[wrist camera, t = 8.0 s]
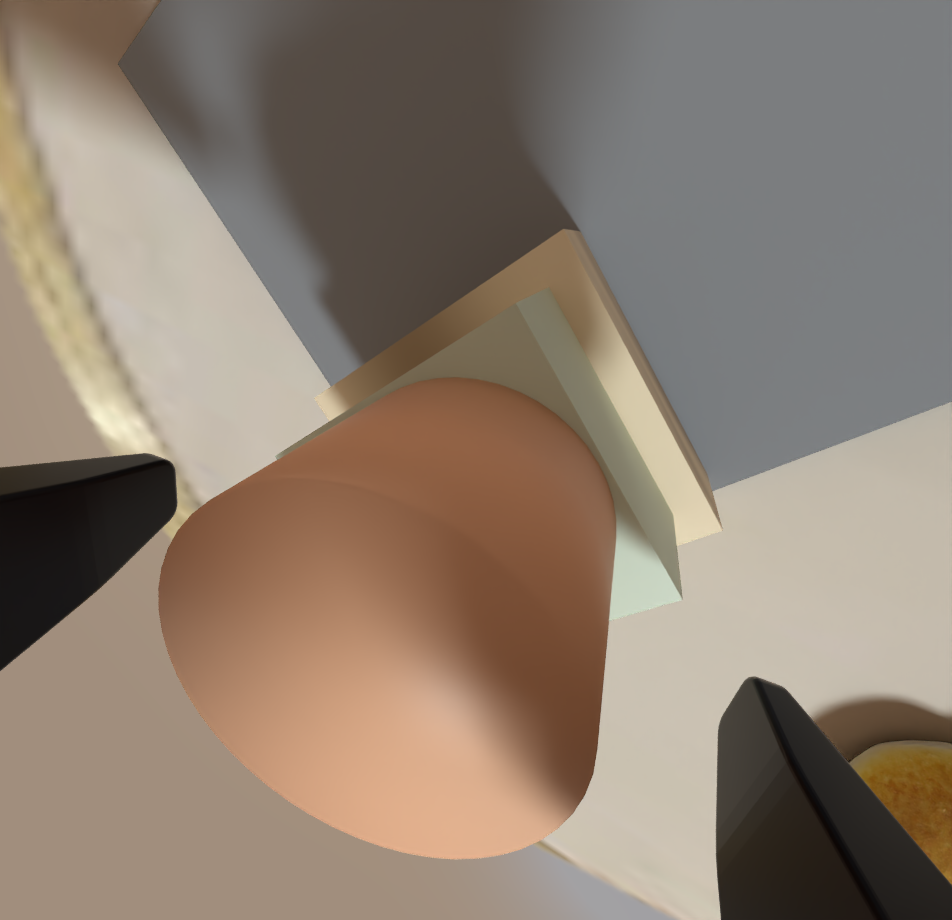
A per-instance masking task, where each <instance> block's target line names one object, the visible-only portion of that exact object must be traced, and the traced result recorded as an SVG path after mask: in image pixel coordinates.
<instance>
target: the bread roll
mask: <svg viewBox="0 0 952 920" xmlns="http://www.w3.org/2000/svg"><path fill="white" fill-rule="evenodd" d="M849 764H850V765H851V766H852V767H853V769H854V770H855V771H856V772H857V773H858V775H859V776H860V777H861V778H862V779H863V780H864V782H865V783H866V784H867V785H868V786H869V788H870V789H871V790H872V791H873V792H874V793H875V795H876V796H877V797H878V798H879V799H880V801H881V802H882V803H883V804H884V805H885V806H886V808H887V809H888V810H889V811H890V812H891V813H892V815H893V816H894V817H895V818H896V819H897V821H898V822H899V823H900V824H901V825H902V826H903V828H904V829H905V830H906V831H907V832H908V834H909V835H910V836H911V837H912V838H913V839H914V841H915V842H916V843H917V844H918V845H919V847H920V848H921V849H922V850H923V851H924V852H925V854H926V855H927V856H928V857H929V858H930V860H931V861H932V862H933V863H934V864H935V865H936V867H937V868H938V869H939V870H940V871H941V873H942V874H943V875H944V876H945V877H946V878H947V880H948V881H949V882H950V883H951V884H952V744H951V743H946V742H939V741H921V740H902V741H893V742H886V743H881V744H877V745H874V746H872V747H871V748H869V749H867V750H866V751H864V752H863V753H861V754H860V755H858V756H856V757H855V758H854V759H853V760H852V761H851V762H849Z"/></svg>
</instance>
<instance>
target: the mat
mask: <svg viewBox="0 0 952 920" xmlns="http://www.w3.org/2000/svg"><path fill="white" fill-rule="evenodd" d="M118 65H119V67H120V68H121V70H122V71H123V73H124V74H125V76H126V77H127V79H128V80H129V82H130V83H131V85H132V86H133V88H134V89H135V91H136V92H137V94H138V95H139V97H140V98H141V100H142V101H143V103H144V104H145V106H146V107H147V109H148V110H149V112H150V113H151V115H152V116H153V118H154V119H155V121H156V122H157V124H158V126H159V127H160V129H161V130H162V132H163V133H164V135H165V136H166V138H167V139H168V141H169V142H170V144H171V145H172V147H173V148H174V150H175V151H176V153H177V154H178V156H179V157H180V159H181V160H182V162H183V163H184V165H185V166H186V168H187V169H188V171H189V172H190V174H191V175H192V177H193V178H194V180H195V181H196V183H197V184H198V186H199V188H200V189H201V191H202V192H203V194H204V195H205V197H206V198H207V200H208V201H209V203H210V204H211V206H212V207H213V209H214V210H215V212H216V213H217V215H218V216H219V218H220V219H221V221H222V222H223V224H224V225H225V227H226V228H227V230H228V231H229V233H230V234H231V236H232V237H233V239H234V240H235V242H236V243H237V245H238V246H239V248H240V250H241V251H242V253H243V254H244V256H245V257H246V259H247V260H248V262H249V263H250V265H251V266H252V268H253V269H254V271H255V272H256V274H257V275H258V277H259V278H260V280H261V281H262V283H263V284H264V286H265V287H266V289H267V290H268V292H269V293H270V295H271V296H272V298H273V299H274V301H275V302H276V304H277V305H278V307H279V308H280V310H281V312H282V313H283V315H284V316H285V318H286V319H287V321H288V322H289V324H290V325H291V327H292V328H293V330H294V331H295V333H296V334H297V336H298V337H299V339H300V340H301V342H302V343H303V345H304V346H305V348H306V349H307V351H308V352H309V354H310V355H311V357H312V358H313V360H314V361H315V363H316V364H317V366H318V367H319V369H320V370H321V372H322V374H323V375H324V377H325V378H326V380H327V381H328V383H329V384H330V386H333V385H334V384H336V383H337V382H339V381H340V380H342V379H343V378H345V377H346V376H347V375H349V374H350V373H352V372H353V371H355V370H356V369H358V368H359V367H361V366H362V365H364V364H365V363H367V362H368V361H370V360H371V359H373V358H374V357H375V356H377V355H378V354H380V353H381V352H383V351H384V350H386V349H387V348H389V347H390V346H392V345H393V344H395V343H396V342H398V341H399V340H400V339H402V338H403V337H405V336H406V335H408V334H409V333H411V332H412V331H414V330H415V329H417V328H418V327H420V326H421V325H423V324H424V323H426V322H427V321H428V320H430V319H431V318H433V317H434V316H436V315H437V314H439V313H440V312H442V311H443V310H445V309H446V308H448V307H449V306H451V305H452V304H453V303H455V302H456V301H458V300H459V299H461V298H462V297H464V296H465V295H467V294H468V293H470V292H471V291H473V290H474V289H476V288H477V287H478V286H480V285H481V284H483V283H484V282H486V281H487V280H489V279H490V278H492V277H493V276H495V275H496V274H498V273H499V272H501V271H502V270H504V269H505V268H506V267H508V266H509V265H511V264H512V263H514V262H515V261H517V260H518V259H520V258H521V257H523V256H524V255H526V254H527V253H529V252H530V251H531V250H533V249H534V248H536V247H537V246H539V245H540V244H542V243H543V242H545V241H546V240H548V239H549V238H551V237H552V236H554V235H555V234H557V233H558V232H559V231H561V230H562V229H568V230H574V231H580V232H581V233H582V235H583V237H584V239H585V241H586V243H587V245H588V247H589V249H590V250H591V252H592V254H593V256H594V258H595V260H596V262H597V264H598V266H599V268H600V270H601V271H602V273H603V275H604V277H605V279H606V281H607V283H608V285H609V287H610V289H611V291H612V293H613V294H614V296H615V298H616V300H617V302H618V304H619V306H620V308H621V310H622V312H623V314H624V316H625V317H626V319H627V321H628V323H629V325H630V327H631V329H632V331H633V333H634V335H635V337H636V338H637V340H638V342H639V344H640V346H641V348H642V350H643V352H644V354H645V356H646V358H647V360H648V361H649V363H650V365H651V367H652V369H653V371H654V373H655V375H656V377H657V379H658V381H659V383H660V384H661V386H662V388H663V390H664V392H665V394H666V396H667V398H668V400H669V402H670V404H671V405H672V407H673V409H674V411H675V413H676V415H677V417H678V419H679V421H680V423H681V425H682V427H683V428H684V430H685V432H686V434H687V436H688V438H689V440H690V442H691V444H692V446H693V448H694V450H695V451H696V453H697V455H698V457H699V459H700V461H701V463H702V465H703V467H704V469H705V471H706V472H707V474H708V478H709V482H710V485H711V489H712V491H714V490H717V489H719V488H722V487H725V486H727V485H730V484H733V483H735V482H738V481H741V480H743V479H746V478H749V477H751V476H754V475H757V474H759V473H762V472H765V471H767V470H770V469H773V468H775V467H778V466H781V465H783V464H786V463H789V462H791V461H794V460H797V459H799V458H802V457H805V456H807V455H810V454H813V453H815V452H818V451H821V450H824V449H826V448H829V447H832V446H834V445H837V444H840V443H842V442H845V441H848V440H850V439H853V438H856V437H858V436H861V435H864V434H866V433H869V432H872V431H874V430H877V429H880V428H882V427H885V426H888V425H890V424H893V423H896V422H898V421H901V420H904V419H906V418H909V417H912V416H914V415H917V414H920V413H922V412H925V411H928V410H930V409H933V408H936V407H938V406H941V405H944V404H946V403H949V402H952V0H161V1H160V3H159V4H158V6H157V7H156V9H155V10H154V12H153V13H152V14H151V16H150V17H149V19H148V20H147V22H146V23H145V25H144V26H143V28H142V29H141V31H140V32H139V33H138V35H137V36H136V38H135V39H134V41H133V42H132V44H131V45H130V47H129V48H128V50H127V51H126V52H125V54H124V55H123V57H122V58H121V60H120V61H119V63H118Z"/></svg>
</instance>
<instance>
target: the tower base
mask: <svg viewBox="0 0 952 920" xmlns="http://www.w3.org/2000/svg"><path fill="white" fill-rule="evenodd" d="M548 287H549V288H550V290H551V292H552V293H553V295H554V297H555V299H556V301H557V303H558V304H559V306H560V308H561V310H562V312H563V314H564V315H565V317H566V319H567V321H568V323H569V325H570V326H571V328H572V330H573V332H574V334H575V336H576V337H577V339H578V341H579V343H580V345H581V347H582V348H583V350H584V352H585V354H586V356H587V358H588V359H589V361H590V363H591V365H592V367H593V369H594V370H595V372H596V374H597V376H598V378H599V380H600V381H601V383H602V385H603V387H604V389H605V391H606V392H607V394H608V396H609V398H610V400H611V402H612V403H613V405H614V407H615V409H616V411H617V412H618V414H619V416H620V418H621V420H622V422H623V423H624V425H625V427H626V429H627V431H628V433H629V434H630V436H631V438H632V440H633V442H634V444H635V445H636V447H637V449H638V451H639V453H640V455H641V456H642V458H643V460H644V462H645V464H646V466H647V467H648V469H649V471H650V473H651V475H652V477H653V478H654V480H655V482H656V484H657V486H658V488H659V489H660V491H661V493H662V495H663V497H664V499H665V500H666V502H667V504H668V506H669V508H670V510H671V511H672V513H673V516H674V525H675V535H676V544H677V546H678V545H681V544H684V543H687V542H690V541H693V540H696V539H699V538H702V537H705V536H708V535H711V534H714V533H717V532H720V531H723V529H722V525H721V522H720V518H719V515H718V511H717V507H716V504H715V500H714V496H713V493H712V489H711V485H710V482H709V478H708V474H707V472H706V471H705V469H704V467H703V465H702V463H701V461H700V459H699V457H698V455H697V453H696V451H695V450H694V448H693V446H692V444H691V442H690V440H689V438H688V436H687V434H686V432H685V430H684V428H683V427H682V425H681V423H680V421H679V419H678V417H677V415H676V413H675V411H674V409H673V407H672V405H671V404H670V402H669V400H668V398H667V396H666V394H665V392H664V390H663V388H662V386H661V384H660V383H659V381H658V379H657V377H656V375H655V373H654V371H653V369H652V367H651V365H650V363H649V361H648V360H647V358H646V356H645V354H644V352H643V350H642V348H641V346H640V344H639V342H638V340H637V338H636V337H635V335H634V333H633V331H632V329H631V327H630V325H629V323H628V321H627V319H626V317H625V316H624V314H623V312H622V310H621V308H620V306H619V304H618V302H617V300H616V298H615V296H614V294H613V293H612V291H611V289H610V287H609V285H608V283H607V281H606V279H605V277H604V275H603V273H602V271H601V270H600V268H599V266H598V264H597V262H596V260H595V258H594V256H593V254H592V252H591V250H590V249H589V247H588V245H587V243H586V241H585V239H584V237H583V235H582V233H581V232H580V231H574V230H568V229H562V230H561V231H559V232H558V233H557V234H555V235H554V236H552V237H551V238H549V239H548V240H546V241H545V242H543V243H542V244H540V245H539V246H537V247H536V248H534V249H533V250H531V251H530V252H529V253H527V254H526V255H524V256H523V257H521V258H520V259H518V260H517V261H515V262H514V263H512V264H511V265H509V266H508V267H506V268H505V269H504V270H502V271H501V272H499V273H498V274H496V275H495V276H493V277H492V278H490V279H489V280H487V281H486V282H484V283H483V284H481V285H480V286H478V287H477V288H476V289H474V290H473V291H471V292H470V293H468V294H467V295H465V296H464V297H462V298H461V299H459V300H458V301H456V302H455V303H453V304H452V305H451V306H449V307H448V308H446V309H445V310H443V311H442V312H440V313H439V314H437V315H436V316H434V317H433V318H431V319H430V320H428V321H427V322H426V323H424V324H423V325H421V326H420V327H418V328H417V329H415V330H414V331H412V332H411V333H409V334H408V335H406V336H405V337H403V338H402V339H400V340H399V341H398V342H396V343H395V344H393V345H392V346H390V347H389V348H387V349H386V350H384V351H383V352H381V353H380V354H378V355H377V356H375V357H374V358H373V359H371V360H370V361H368V362H367V363H365V364H364V365H362V366H361V367H359V368H358V369H356V370H355V371H353V372H352V373H350V374H349V375H347V376H346V377H345V378H343V379H342V380H340V381H339V382H337V383H336V384H334V385H333V386H331V387H330V388H328V389H327V390H325V391H324V392H322V393H321V394H320V395H318V396H317V397H315V398H314V399H315V400H316V402H317V403H318V405H319V406H320V408H321V409H322V411H323V412H324V414H325V415H326V417H327V418H328V420H329V421H331V420H333V419H334V418H336V417H337V416H339V415H341V414H342V413H344V412H345V411H347V410H348V409H350V408H352V407H353V406H355V405H356V404H358V403H359V402H361V401H363V400H364V399H366V398H367V397H369V396H370V395H372V394H374V393H375V392H377V391H378V390H380V389H381V388H383V387H385V386H386V385H388V384H389V383H391V382H392V381H394V380H396V379H397V378H399V377H400V376H402V375H403V374H405V373H407V372H408V371H410V370H411V369H413V368H414V367H416V366H418V365H419V364H421V363H422V362H424V361H425V360H427V359H429V358H430V357H432V356H433V355H435V354H436V353H438V352H440V351H441V350H443V349H444V348H446V347H447V346H449V345H451V344H452V343H454V342H455V341H457V340H458V339H460V338H462V337H463V336H465V335H466V334H468V333H469V332H471V331H473V330H474V329H476V328H477V327H479V326H480V325H482V324H484V323H485V322H487V321H488V320H490V319H491V318H493V317H495V316H496V315H498V314H499V313H501V312H502V311H504V310H506V309H507V308H509V307H510V306H512V305H513V304H515V303H517V302H519V301H521V300H523V299H525V298H527V297H529V296H531V295H534V294H536V293H538V292H540V291H542V290H544V289H546V288H548Z"/></svg>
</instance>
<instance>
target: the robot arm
mask: <svg viewBox="0 0 952 920" xmlns="http://www.w3.org/2000/svg"><path fill="white" fill-rule="evenodd" d="M176 509H177V488H176V472H175V468H174V466H173V464H172V463H171V462H170V461H168V460H166V459H163V458H161V457H158V456H155V455H152V454H147V453H143V454H133V455H123V456H113V457H102V458H92V459H82V460H73V461H63V462H52V463H42V464H32V465H22V466H12V467H2V468H0V671H1V670H2V669H3V668H5V667H6V666H7V665H8V664H9V663H10V662H12V661H13V660H14V659H16V658H17V657H18V656H19V655H20V654H21V653H23V652H24V651H25V650H26V649H28V648H29V647H30V646H31V645H32V644H34V643H35V642H36V641H37V640H39V639H40V638H41V637H42V636H43V635H45V634H46V633H47V632H48V631H49V630H51V629H52V628H53V627H54V626H55V625H57V624H58V623H59V622H60V621H61V620H63V619H64V618H65V617H66V616H68V615H69V614H70V613H71V612H72V611H74V610H75V609H76V608H77V607H79V606H80V605H81V604H82V603H83V602H85V601H86V600H87V599H88V598H89V597H90V596H92V595H93V594H94V593H95V592H96V591H97V590H98V589H100V588H101V587H102V586H103V585H104V584H105V583H106V582H107V581H108V580H109V579H110V578H112V577H113V576H114V575H115V573H117V572H118V571H119V570H120V568H122V567H123V566H124V565H125V564H126V563H127V562H128V561H129V560H130V559H131V558H132V557H133V556H134V555H135V554H136V553H137V552H138V551H139V550H140V549H141V548H142V547H143V546H144V545H145V544H146V543H147V542H148V541H149V540H150V539H151V538H152V537H153V536H154V535H155V534H156V533H157V532H158V531H159V530H160V529H162V528H163V527H164V526H165V525H166V524H167V523H168V522H169V521H170V520H171V518H172V517H173V515H174V514H175V512H176ZM716 862H717V878H718V890H719V901H720V913H721V920H952V884H951V883H950V882H949V881H948V880H947V878H946V877H945V876H944V875H943V874H942V873H941V871H940V870H939V869H938V868H937V867H936V865H935V864H934V863H933V862H932V861H931V860H930V858H929V857H928V856H927V855H926V854H925V852H924V851H923V850H922V849H921V848H920V847H919V845H918V844H917V843H916V842H915V841H914V839H913V838H912V837H911V836H910V835H909V834H908V832H907V831H906V830H905V829H904V828H903V826H902V825H901V824H900V823H899V822H898V821H897V819H896V818H895V817H894V816H893V815H892V813H891V812H890V811H889V810H888V809H887V808H886V806H885V805H884V804H883V803H882V802H881V801H880V799H879V798H878V797H877V796H876V795H875V793H874V792H873V791H872V790H871V789H870V788H869V786H868V785H867V784H866V783H865V782H864V780H863V779H862V778H861V777H860V776H859V775H858V773H857V772H856V771H855V770H854V769H853V767H852V766H851V765H850V764H849V763H848V762H847V760H846V759H845V758H844V757H843V756H842V754H841V753H840V752H839V751H838V750H837V749H836V747H835V746H834V745H833V744H832V743H831V741H830V740H829V739H828V738H827V737H826V736H825V734H824V733H823V732H822V731H821V730H820V728H819V727H818V726H817V725H816V724H815V723H814V721H813V720H812V719H811V718H810V717H809V715H808V714H807V713H806V712H805V711H804V710H803V708H802V707H801V706H800V705H799V704H798V702H797V701H796V700H795V699H794V698H793V697H792V695H791V694H790V693H789V692H788V691H787V690H786V689H785V688H784V687H782V686H780V685H777V684H774V683H772V682H769V681H766V680H764V679H761V678H758V677H749V678H747V679H746V680H745V681H744V682H743V684H742V685H741V687H740V688H739V690H738V692H737V693H736V695H735V696H734V698H733V700H732V701H731V703H730V704H729V706H728V708H727V709H726V711H725V712H724V714H723V716H722V718H721V721H720V724H719V729H718V755H717V805H716Z"/></svg>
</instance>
